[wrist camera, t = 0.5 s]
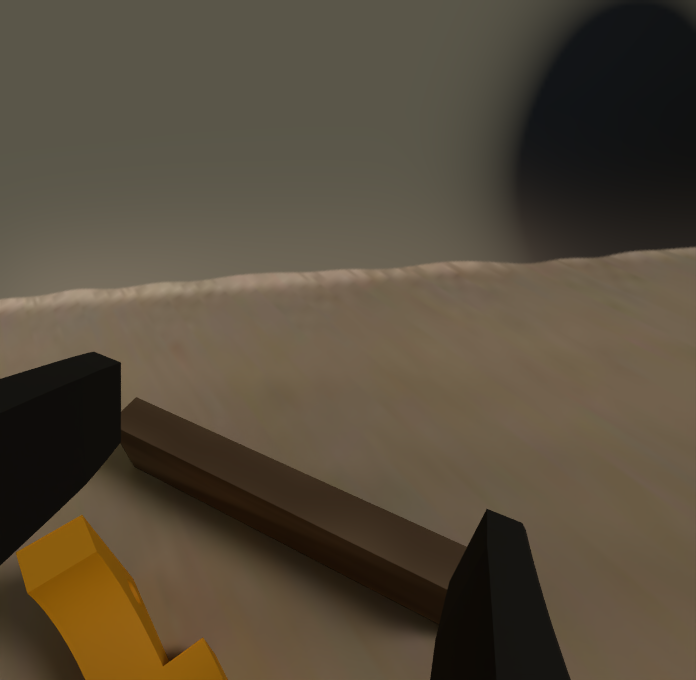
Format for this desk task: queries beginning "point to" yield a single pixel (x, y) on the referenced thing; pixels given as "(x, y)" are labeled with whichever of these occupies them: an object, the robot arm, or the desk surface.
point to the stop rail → (295, 508)
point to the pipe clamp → (103, 610)
